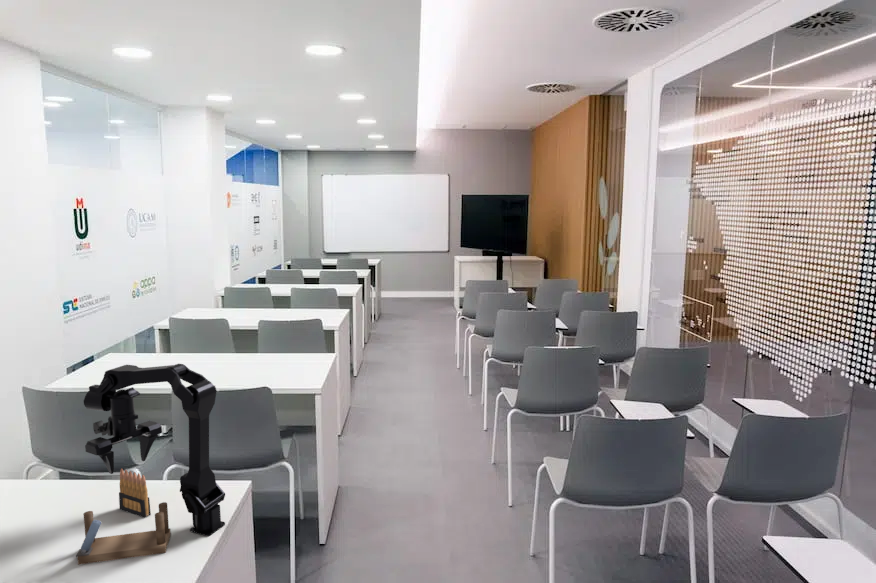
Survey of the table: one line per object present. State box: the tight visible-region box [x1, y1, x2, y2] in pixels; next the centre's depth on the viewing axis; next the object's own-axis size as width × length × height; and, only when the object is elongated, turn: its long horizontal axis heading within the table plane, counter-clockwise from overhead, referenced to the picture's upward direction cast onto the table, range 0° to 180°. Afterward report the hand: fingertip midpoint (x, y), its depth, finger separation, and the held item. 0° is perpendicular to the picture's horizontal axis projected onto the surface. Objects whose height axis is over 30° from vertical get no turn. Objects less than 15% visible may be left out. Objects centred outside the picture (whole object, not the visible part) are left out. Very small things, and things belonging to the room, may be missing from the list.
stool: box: [75, 501, 172, 566], centre depth 147 cm, size 20×8×10 cm, turn 105°
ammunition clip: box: [118, 468, 152, 519], centre depth 166 cm, size 11×2×12 cm, turn 64°
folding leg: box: [80, 519, 102, 554], centre depth 143 cm, size 2×2×8 cm
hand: (127, 467), depth 163 cm, fingers open, 9 cm apart
